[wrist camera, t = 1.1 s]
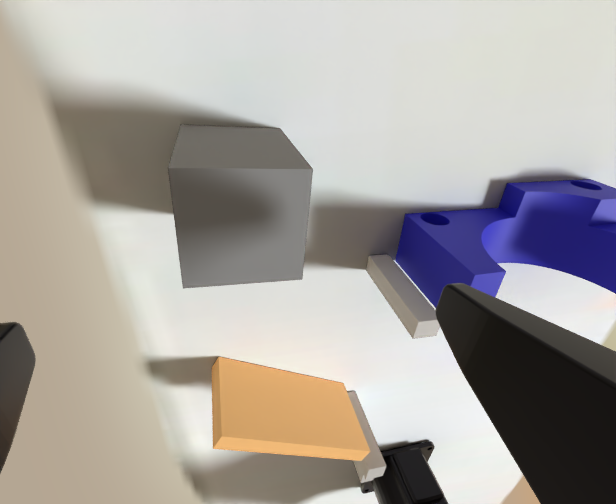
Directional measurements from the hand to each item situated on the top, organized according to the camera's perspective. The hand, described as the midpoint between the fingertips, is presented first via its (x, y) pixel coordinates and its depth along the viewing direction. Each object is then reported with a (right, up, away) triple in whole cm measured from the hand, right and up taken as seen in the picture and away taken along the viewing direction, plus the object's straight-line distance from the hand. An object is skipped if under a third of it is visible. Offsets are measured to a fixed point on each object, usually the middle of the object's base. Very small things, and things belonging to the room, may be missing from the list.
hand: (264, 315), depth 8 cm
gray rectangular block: (-2, +5, +8) cm, 9 cm away
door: (-1, -7, +16) cm, 17 cm away
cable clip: (+12, +3, +13) cm, 18 cm away
